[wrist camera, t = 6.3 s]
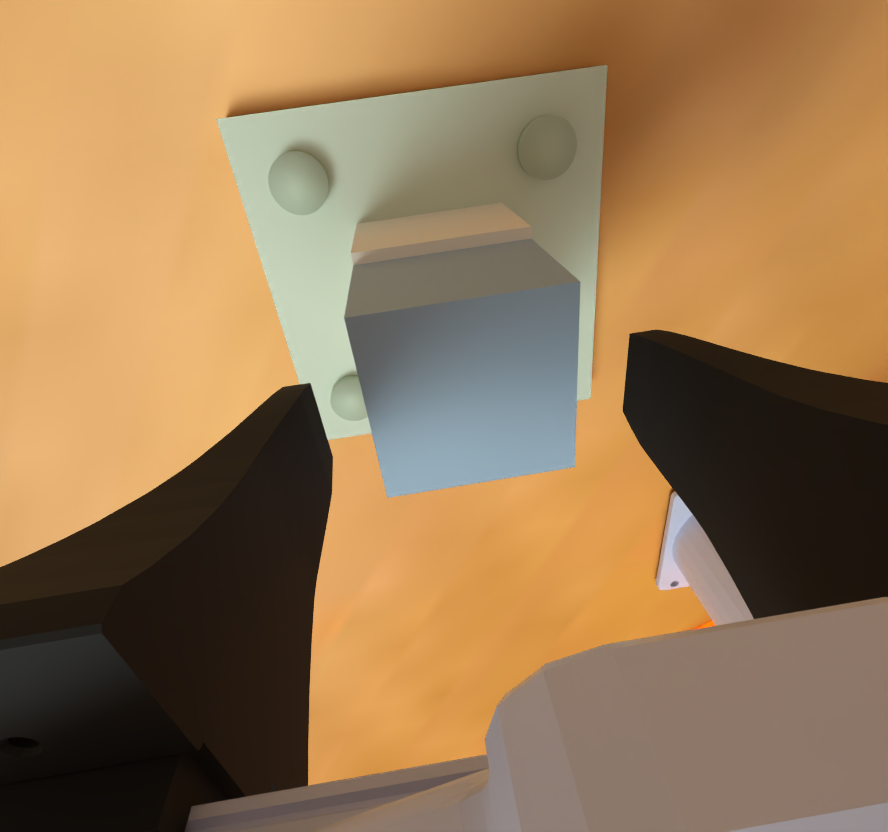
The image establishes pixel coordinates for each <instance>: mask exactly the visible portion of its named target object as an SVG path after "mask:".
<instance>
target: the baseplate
mask: <svg viewBox="0 0 888 832" xmlns="http://www.w3.org/2000/svg"><path fill="white" fill-rule="evenodd" d="M606 85H607V65H602V66H595V67H587V68H580V69H573V70H566V71H559V72H551V73H544V74H537V75H530V76H523V77H515V78H508V79H501V80H494V81H487V82H480V83H472V84H465V85H458V86H451V87H444V88H436V89H429V90H422V91H415V92H408V93H400V94H393V95H386V96H379V97H372V98H364V99H357V100H350V101H343V102H336V103H328V104H321V105H314V106H307V107H300V108H292V109H285V110H278V111H271V112H264V113H256V114H249V115H242V116H235V117H228V118H220V119H216V120H217V123H218V126H219V129H220V132H221V136H222V139H223V142H224V145H225V148H226V151H227V155H228V158H229V161H230V164H231V167H232V170H233V174H234V177H235V180H236V183H237V186H238V190H239V193H240V196H241V199H242V202H243V205H244V209H245V212H246V215H247V218H248V221H249V224H250V228H251V231H252V234H253V237H254V240H255V243H256V247H257V250H258V253H259V256H260V259H261V262H262V266H263V269H264V272H265V275H266V278H267V282H268V285H269V288H270V291H271V294H272V297H273V301H274V304H275V307H276V310H277V313H278V316H279V320H280V323H281V326H282V329H283V332H284V335H285V339H286V342H287V345H288V348H289V351H290V354H291V358H292V361H293V364H294V367H295V370H296V374H297V377H298V380H299V383H300V384H306V383H311V386H312V390H313V393H314V396H315V400H316V403H317V406H318V410H319V413H320V416H321V420H322V423H323V426H324V430H325V433H326V436H327V440H331V439H338V438H344V437H350V436H357V435H363V434H369V433H372V432H371V427H370V423H369V419H368V415H367V411H366V407H365V403H364V399H363V394H362V390H361V386H360V382H359V378H358V374H357V370H356V365H355V361H354V357H353V353H352V349H351V345H350V341H349V336H348V332H347V328H346V324H345V320H344V315H345V309H346V304H347V298H348V292H349V287H350V281H351V275H352V270H353V262H352V258H351V248H352V244H353V239H354V234H355V229H356V225H357V224H358V223H365V222H372V221H379V220H385V219H392V218H399V217H406V216H413V215H420V214H427V213H433V212H440V211H447V210H454V209H461V208H468V207H475V206H481V205H488V204H495V203H503V204H504V205H505V206H506V207H508V208H509V209H510V210H511V211H513V212H514V213H515V214H516V215H518V216H519V217H520V218H521V219H523V220H524V221H525V222H526V223H528V224H529V225H530V226H531V239H533V240H534V241H535V242H536V243H537V244H538V245H539V246H541V247H542V248H543V249H544V250H545V251H546V252H547V253H548V254H550V255H551V256H552V257H553V258H554V259H555V260H556V261H558V262H559V263H560V264H561V265H562V266H563V267H564V268H566V269H567V270H568V271H569V272H570V273H571V274H572V275H574V276H575V277H576V278H577V279H578V280H579V281H580V314H579V345H578V377H577V401H578V400H585V399H590V398H591V378H592V359H593V339H594V320H595V300H596V281H597V261H598V241H599V222H600V202H601V183H602V163H603V143H604V124H605V104H606Z"/></svg>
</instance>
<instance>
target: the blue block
mask: <svg viewBox="0 0 888 832" xmlns="http://www.w3.org/2000/svg"><path fill="white" fill-rule="evenodd" d="M579 314H580V281H579V280H578V279H577V278H576V277H575V276H574V275H572V274H571V273H570V272H569V271H568V270H567V269H566V268H564V267H563V266H562V265H561V264H560V263H559V262H558V261H556V260H555V259H554V258H553V257H552V256H551V255H550V254H548V253H547V252H546V251H545V250H544V249H543V248H542V247H541V246H539V245H538V244H537V243H536V242H535V241H534V240H533V239H526V240H519V241H513V242H506V243H499V244H493V245H486V246H479V247H473V248H466V249H459V250H453V251H446V252H440V253H433V254H426V255H420V256H413V257H406V258H400V259H393V260H386V261H380V262H373V263H366V264H360V265H353V270H352V275H351V281H350V287H349V292H348V298H347V304H346V309H345V315H344V320H345V324H346V328H347V332H348V336H349V341H350V345H351V349H352V353H353V357H354V361H355V365H356V370H357V374H358V378H359V382H360V386H361V390H362V394H363V399H364V403H365V407H366V411H367V415H368V419H369V423H370V427H371V432H372V436H373V440H374V444H375V448H376V452H377V456H378V461H379V465H380V469H381V473H382V477H383V481H384V485H385V490H386V494H387V498H389V497H395V496H401V495H407V494H413V493H419V492H425V491H431V490H437V489H444V488H450V487H456V486H462V485H468V484H474V483H480V482H486V481H493V480H499V479H505V478H511V477H517V476H523V475H529V474H535V473H542V472H548V471H554V470H560V469H566V468H572V467H575V441H576V409H577V377H578V345H579Z"/></svg>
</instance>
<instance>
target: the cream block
mask: <svg viewBox="0 0 888 832" xmlns="http://www.w3.org/2000/svg"><path fill="white" fill-rule="evenodd" d="M526 239H531V226H530V225H529V224H528V223H526V222H525V221H524V220H523V219H521V218H520V217H519V216H518V215H516V214H515V213H514V212H513V211H511V210H510V209H509V208H508V207H506V206H505V205H504V204H503V203H495V204H488V205H481V206H475V207H468V208H461V209H454V210H447V211H440V212H433V213H427V214H420V215H413V216H406V217H399V218H392V219H385V220H379V221H372V222H365V223H358V224H357V225H356V229H355V234H354V239H353V244H352V248H351V258H352V262H353V265H360V264H366V263H373V262H380V261H386V260H393V259H400V258H406V257H413V256H420V255H426V254H433V253H440V252H446V251H453V250H459V249H466V248H473V247H479V246H486V245H493V244H499V243H506V242H513V241H519V240H526Z"/></svg>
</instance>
